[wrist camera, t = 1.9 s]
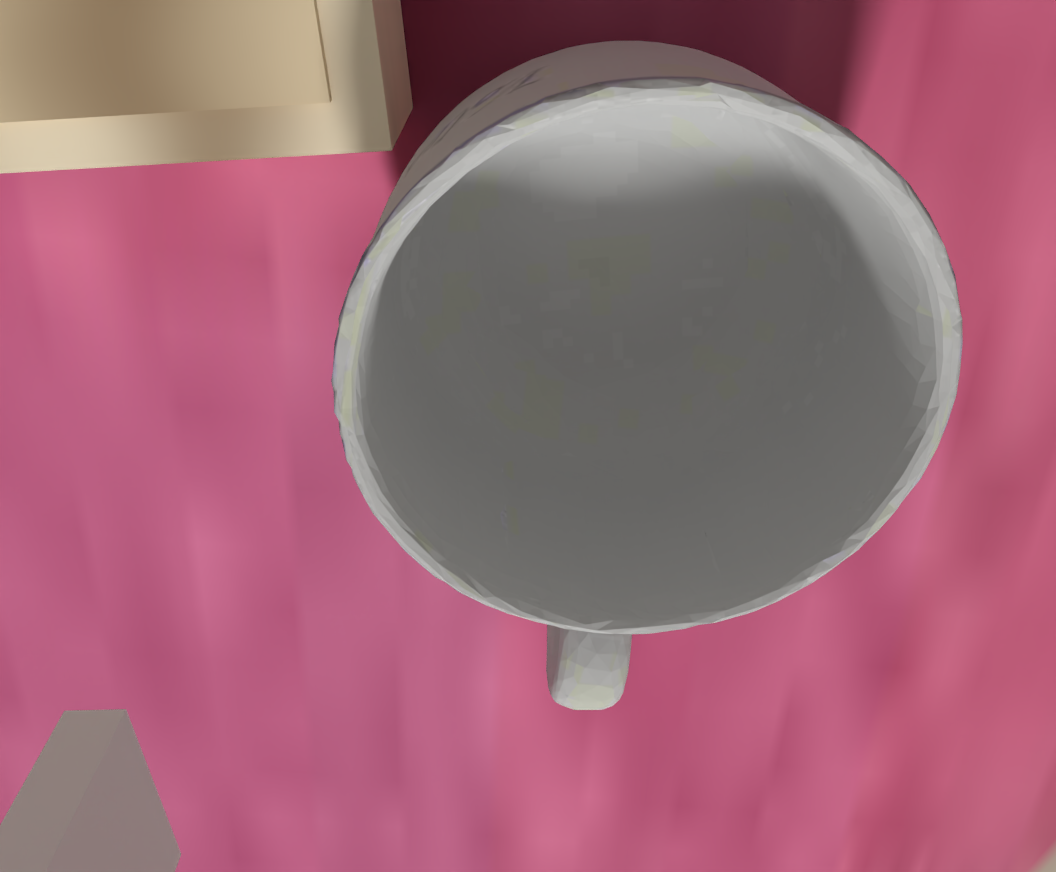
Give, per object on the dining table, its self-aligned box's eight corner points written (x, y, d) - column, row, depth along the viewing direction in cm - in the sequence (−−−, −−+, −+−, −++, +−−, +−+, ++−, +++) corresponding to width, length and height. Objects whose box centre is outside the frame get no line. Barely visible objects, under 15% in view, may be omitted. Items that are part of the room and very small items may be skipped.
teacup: (457, -68, 20) (410, -17, 14) (935, 91, 22) (1111, 209, 15) (329, 475, 27) (256, 689, 21) (699, 569, 29) (745, 798, 22)
